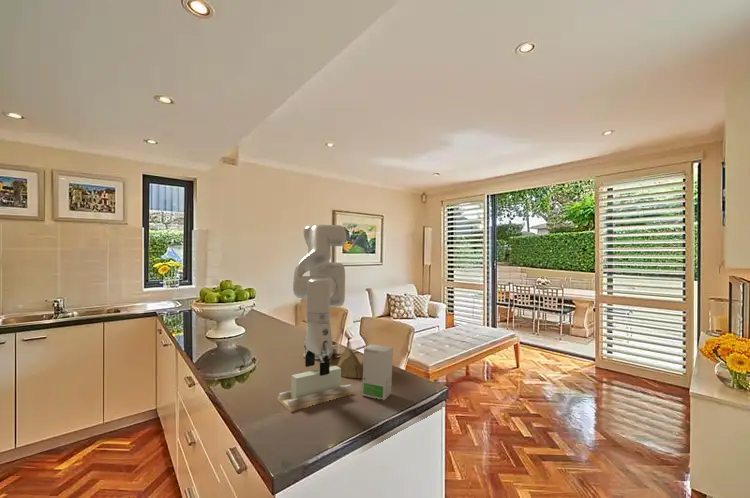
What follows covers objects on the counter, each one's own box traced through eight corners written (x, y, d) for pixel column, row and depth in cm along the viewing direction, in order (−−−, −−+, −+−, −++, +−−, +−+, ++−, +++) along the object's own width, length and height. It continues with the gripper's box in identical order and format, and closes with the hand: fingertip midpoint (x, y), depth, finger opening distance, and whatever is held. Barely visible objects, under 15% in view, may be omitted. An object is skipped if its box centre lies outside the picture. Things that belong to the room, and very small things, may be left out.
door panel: (335, 386, 115) (335, 365, 115) (340, 389, 112) (341, 368, 112) (290, 397, 105) (291, 375, 105) (295, 401, 102) (296, 378, 103)
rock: (370, 371, 127) (358, 360, 136) (360, 355, 124) (348, 345, 132) (349, 392, 123) (337, 379, 132) (337, 376, 120) (326, 365, 128)
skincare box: (361, 396, 110) (362, 347, 110) (369, 389, 116) (370, 343, 116) (385, 400, 106) (386, 351, 107) (392, 393, 112) (393, 346, 113)
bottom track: (337, 384, 119) (337, 377, 119) (353, 393, 111) (353, 386, 111) (277, 400, 106) (277, 392, 106) (290, 411, 98) (290, 403, 98)
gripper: (342, 320, 105) (341, 375, 105) (315, 311, 118) (314, 360, 118) (320, 323, 100) (319, 381, 100) (295, 314, 114) (294, 365, 114)
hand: (317, 370), depth 109 cm, fingers open, 9 cm apart
